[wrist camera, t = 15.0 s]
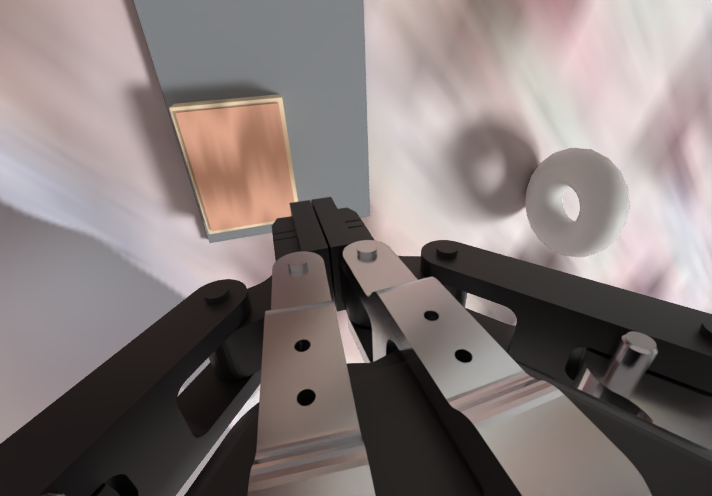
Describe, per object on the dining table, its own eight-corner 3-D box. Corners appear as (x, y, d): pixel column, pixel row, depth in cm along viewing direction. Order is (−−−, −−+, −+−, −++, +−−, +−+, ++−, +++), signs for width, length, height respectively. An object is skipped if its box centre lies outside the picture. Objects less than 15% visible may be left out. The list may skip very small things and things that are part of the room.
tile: (279, 94, 24) (174, 103, 23) (282, 97, 22) (168, 108, 21) (297, 209, 29) (211, 223, 27) (301, 220, 27) (208, 235, 26)
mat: (125, -34, 19) (122, -36, 19) (359, -35, 22) (362, -37, 22) (210, 239, 29) (209, 242, 28) (368, 213, 32) (370, 215, 31)
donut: (527, 139, 32) (625, 169, 24) (558, 134, 33) (663, 162, 25) (509, 230, 38) (584, 282, 29) (536, 225, 38) (617, 273, 30)
